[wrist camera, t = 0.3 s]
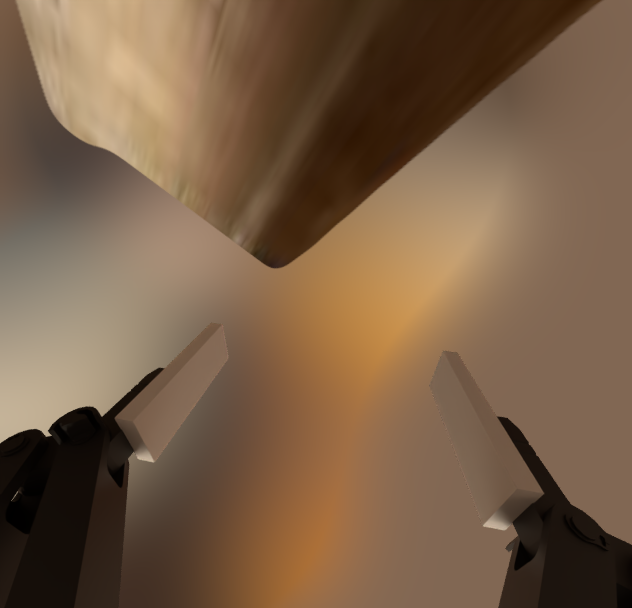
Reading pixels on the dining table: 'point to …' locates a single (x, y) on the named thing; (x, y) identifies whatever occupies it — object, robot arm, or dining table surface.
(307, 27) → the dining table surface
